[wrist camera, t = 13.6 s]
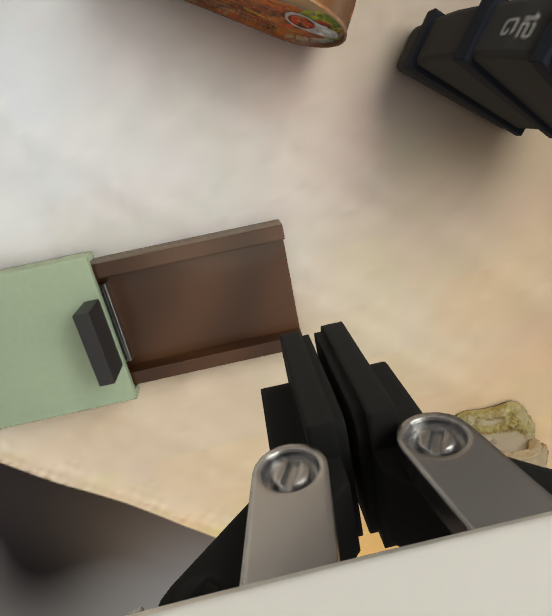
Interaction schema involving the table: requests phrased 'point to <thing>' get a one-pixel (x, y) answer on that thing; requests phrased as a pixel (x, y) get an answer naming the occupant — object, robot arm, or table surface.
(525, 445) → the ceramic model
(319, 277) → the table surface
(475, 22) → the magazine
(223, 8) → the tin
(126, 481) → the table surface
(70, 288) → the lid
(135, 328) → the tray
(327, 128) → the table surface
